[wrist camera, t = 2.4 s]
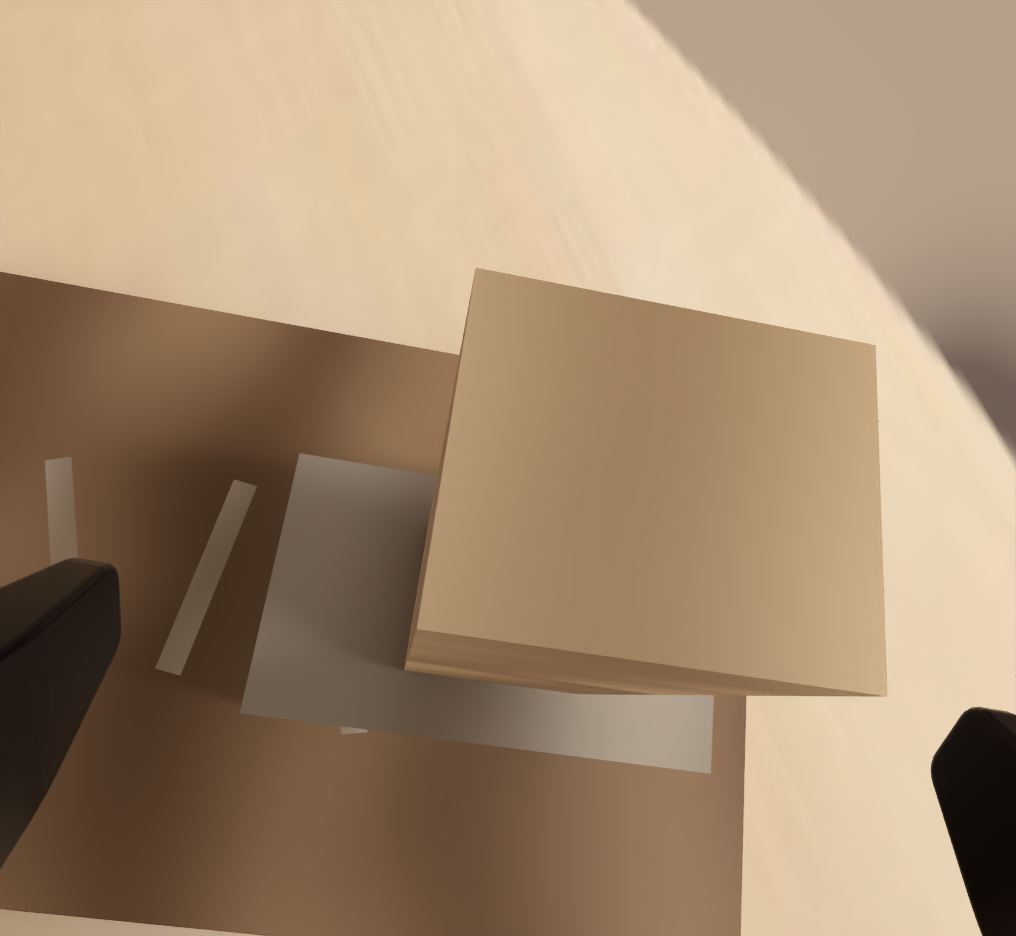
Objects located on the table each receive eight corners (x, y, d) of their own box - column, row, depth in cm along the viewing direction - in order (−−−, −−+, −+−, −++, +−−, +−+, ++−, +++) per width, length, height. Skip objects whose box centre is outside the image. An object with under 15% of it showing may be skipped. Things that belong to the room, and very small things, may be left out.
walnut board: (726, 429, 19) (753, 408, 18) (707, 955, 15) (739, 982, 14) (-174, 269, 17) (-226, 231, 16) (-450, 836, 13) (-552, 853, 12)
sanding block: (673, 547, 16) (1156, 291, 6) (660, 760, 15) (1265, 916, 5) (314, 489, 16) (148, 79, 5) (265, 709, 14) (-97, 756, 4)
